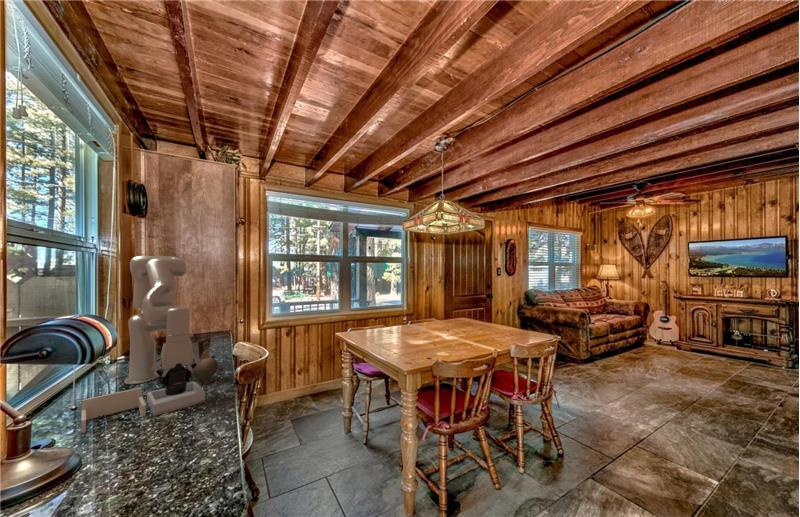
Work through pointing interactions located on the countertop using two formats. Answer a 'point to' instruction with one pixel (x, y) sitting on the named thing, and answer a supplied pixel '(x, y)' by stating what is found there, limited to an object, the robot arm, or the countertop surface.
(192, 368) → the robot arm
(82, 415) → the bay
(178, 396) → the tray
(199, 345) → the coffee box
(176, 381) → the black boxy piece
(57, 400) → the countertop surface
